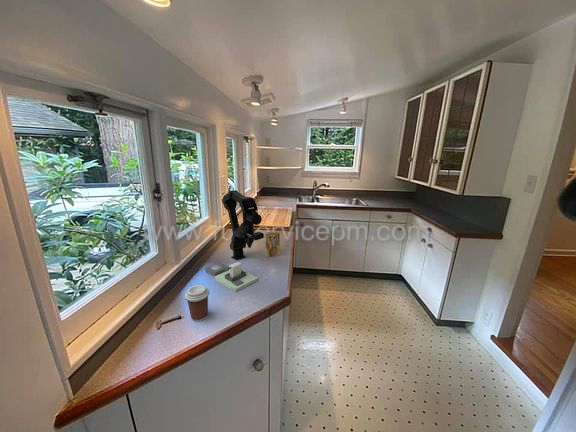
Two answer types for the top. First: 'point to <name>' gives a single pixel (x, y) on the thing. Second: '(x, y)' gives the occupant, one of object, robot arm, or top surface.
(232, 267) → the plug
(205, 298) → the coffee cup
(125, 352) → the top surface
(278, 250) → the candy box
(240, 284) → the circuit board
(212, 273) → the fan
